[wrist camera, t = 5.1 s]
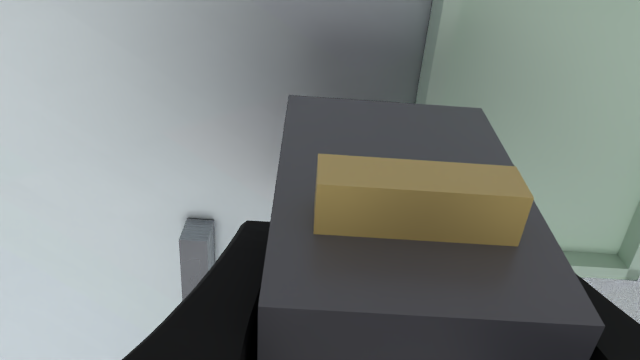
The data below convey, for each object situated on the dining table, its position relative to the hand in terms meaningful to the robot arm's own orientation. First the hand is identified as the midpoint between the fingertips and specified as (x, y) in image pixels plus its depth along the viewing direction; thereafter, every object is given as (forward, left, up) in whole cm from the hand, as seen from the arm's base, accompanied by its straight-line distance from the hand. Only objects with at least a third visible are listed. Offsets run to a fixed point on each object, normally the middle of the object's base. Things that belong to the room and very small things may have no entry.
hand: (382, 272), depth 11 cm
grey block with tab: (0, +1, -3) cm, 3 cm away
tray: (-6, 0, -9) cm, 11 cm away
